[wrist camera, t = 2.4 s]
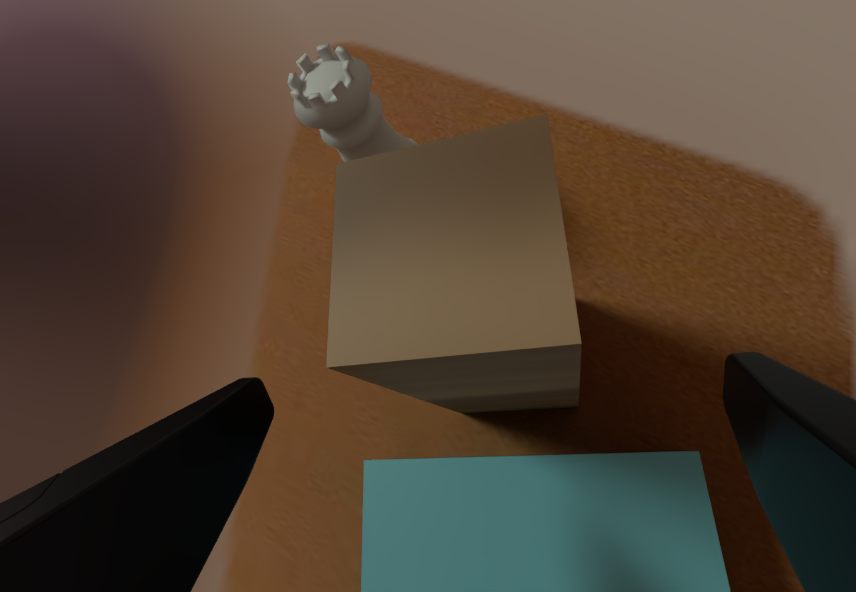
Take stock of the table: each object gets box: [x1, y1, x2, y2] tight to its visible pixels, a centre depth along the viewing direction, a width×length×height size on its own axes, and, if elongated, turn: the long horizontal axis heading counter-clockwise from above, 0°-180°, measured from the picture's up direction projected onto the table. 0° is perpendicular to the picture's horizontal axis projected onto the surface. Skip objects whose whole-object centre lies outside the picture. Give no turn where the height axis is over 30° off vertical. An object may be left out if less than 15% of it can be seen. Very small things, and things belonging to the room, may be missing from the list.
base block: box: [361, 451, 730, 592], centre depth 15 cm, size 7×11×2 cm, turn 92°
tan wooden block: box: [326, 114, 582, 413], centre depth 13 cm, size 5×5×11 cm
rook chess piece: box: [287, 43, 418, 162], centre depth 19 cm, size 4×4×8 cm
